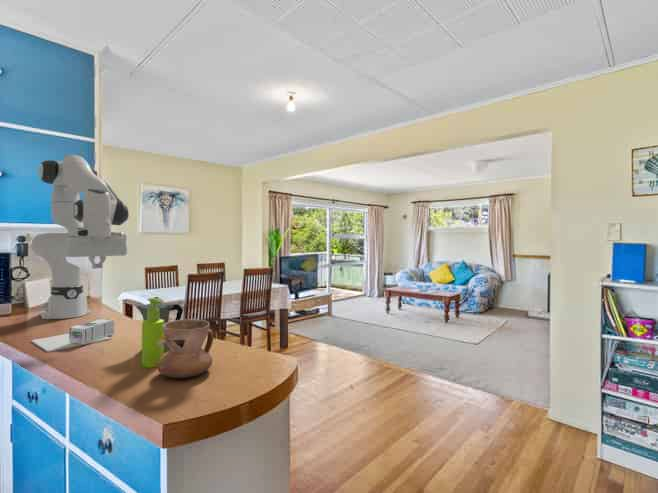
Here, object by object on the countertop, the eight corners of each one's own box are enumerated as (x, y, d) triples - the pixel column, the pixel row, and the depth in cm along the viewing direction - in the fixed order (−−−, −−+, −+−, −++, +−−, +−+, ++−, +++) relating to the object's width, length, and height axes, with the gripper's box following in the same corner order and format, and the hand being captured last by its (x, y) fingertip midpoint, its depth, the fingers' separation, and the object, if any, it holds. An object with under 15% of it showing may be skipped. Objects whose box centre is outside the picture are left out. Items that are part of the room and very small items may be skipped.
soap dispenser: (151, 370, 101) (151, 301, 100) (137, 365, 104) (138, 298, 104) (169, 364, 106) (170, 298, 105) (156, 359, 109) (156, 295, 109)
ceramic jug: (172, 390, 88) (174, 334, 88) (141, 376, 96) (143, 324, 96) (228, 369, 103) (230, 321, 103) (197, 358, 111) (199, 314, 111)
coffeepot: (128, 354, 113) (129, 299, 113) (143, 345, 123) (143, 294, 122) (176, 354, 114) (177, 299, 114) (187, 345, 123) (188, 295, 123)
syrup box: (115, 318, 135) (83, 327, 120) (114, 334, 135) (83, 344, 120) (101, 318, 136) (68, 326, 121) (101, 333, 136) (68, 343, 121)
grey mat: (31, 341, 125) (31, 340, 125) (91, 330, 140) (91, 329, 140) (47, 352, 114) (47, 350, 114) (111, 339, 129) (111, 337, 129)
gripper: (122, 232, 143) (122, 266, 143) (62, 231, 126) (62, 269, 127) (130, 232, 139) (129, 267, 139) (69, 231, 122) (69, 270, 123)
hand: (97, 268), depth 133 cm, fingers closed
